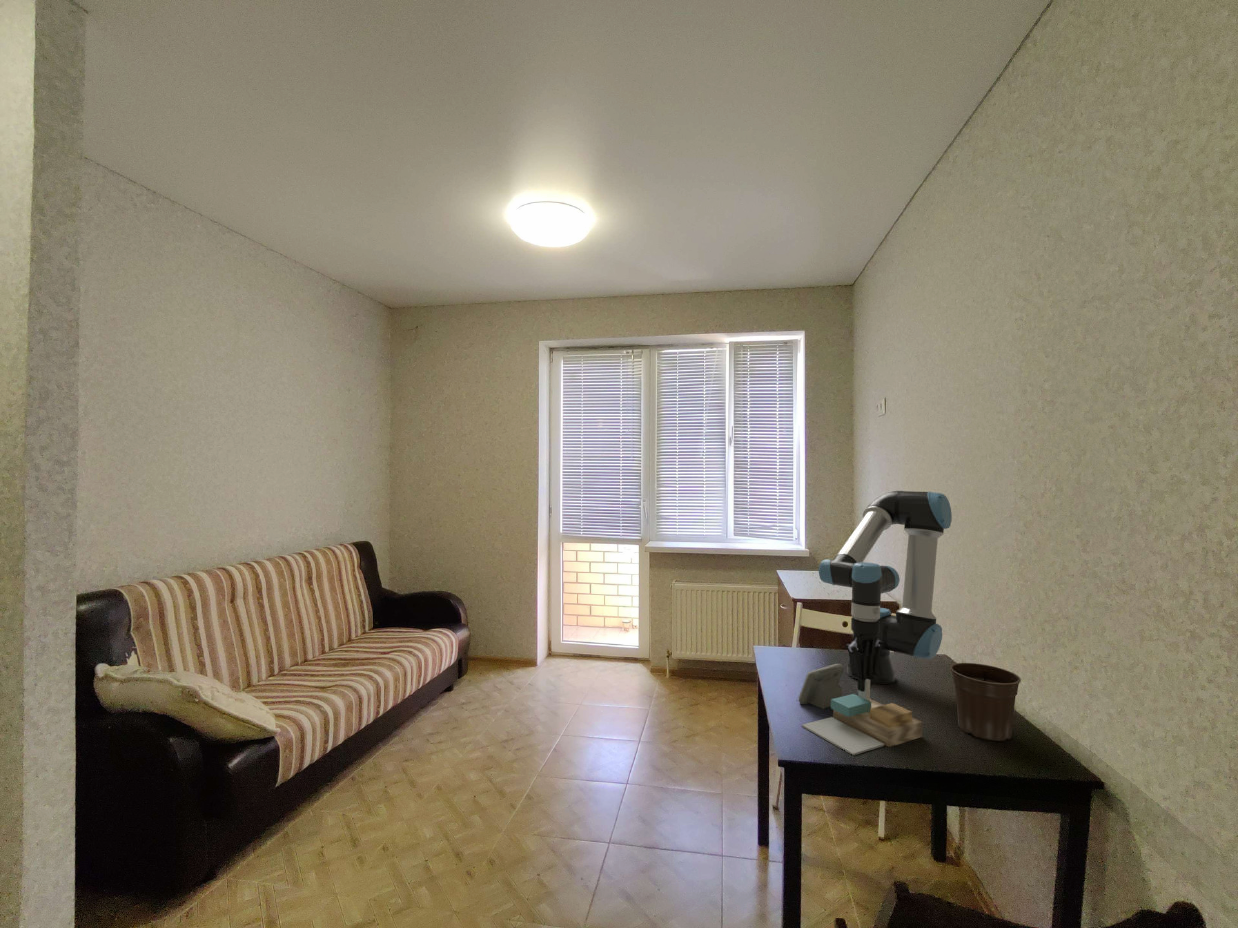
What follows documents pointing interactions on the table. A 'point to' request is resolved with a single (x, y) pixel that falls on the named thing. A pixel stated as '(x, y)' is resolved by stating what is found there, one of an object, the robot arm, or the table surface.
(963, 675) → the plant pot
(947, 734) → the table surface
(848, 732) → the mat
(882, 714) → the ochre tile
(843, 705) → the teal tile
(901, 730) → the platform
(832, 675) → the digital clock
